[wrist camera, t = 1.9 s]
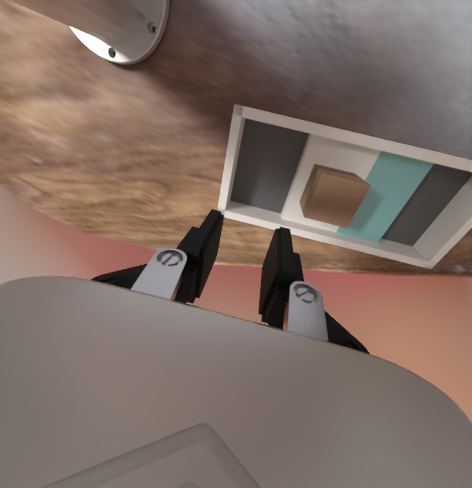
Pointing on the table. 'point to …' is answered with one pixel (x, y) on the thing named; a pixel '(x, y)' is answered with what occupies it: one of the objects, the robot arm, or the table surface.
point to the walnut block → (332, 195)
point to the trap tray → (355, 161)
